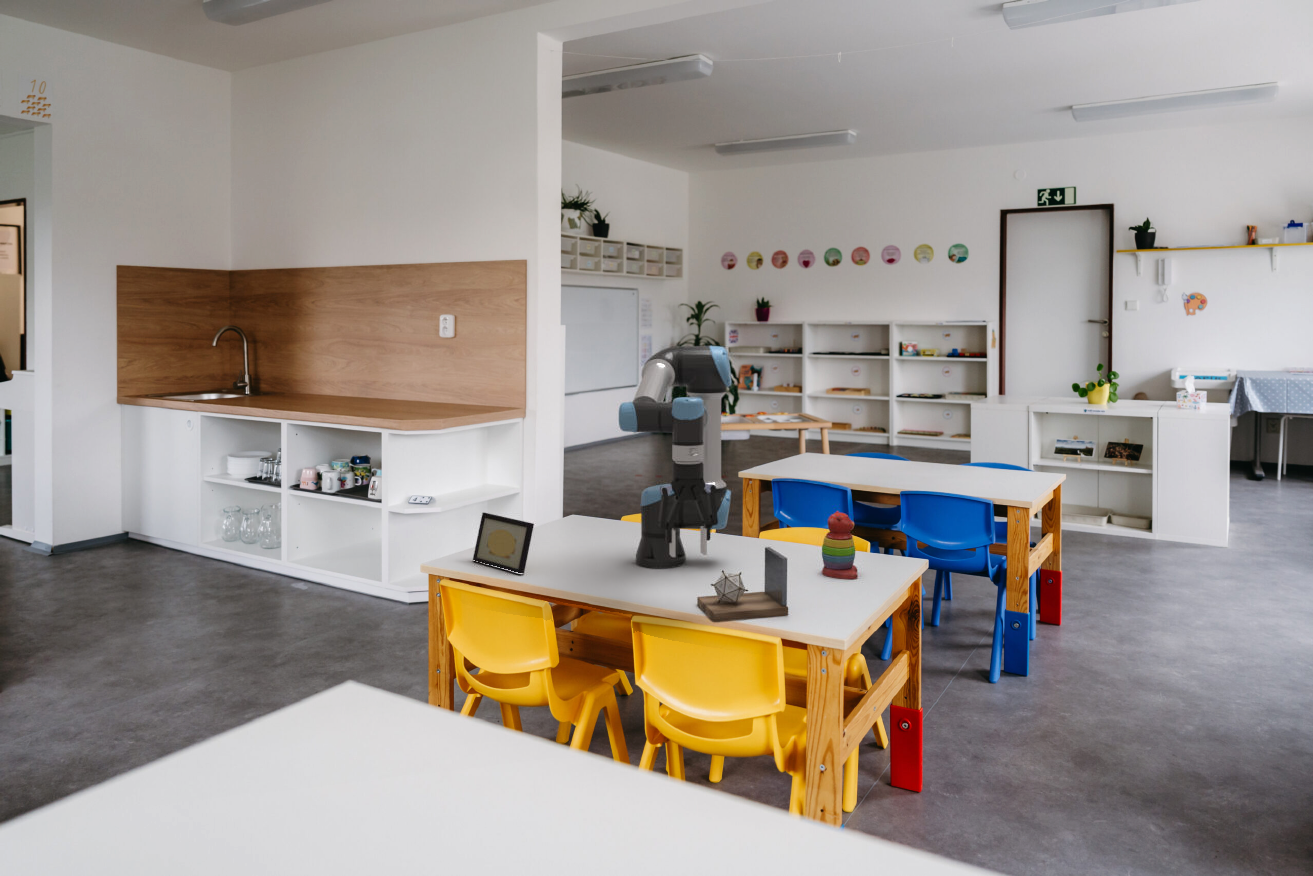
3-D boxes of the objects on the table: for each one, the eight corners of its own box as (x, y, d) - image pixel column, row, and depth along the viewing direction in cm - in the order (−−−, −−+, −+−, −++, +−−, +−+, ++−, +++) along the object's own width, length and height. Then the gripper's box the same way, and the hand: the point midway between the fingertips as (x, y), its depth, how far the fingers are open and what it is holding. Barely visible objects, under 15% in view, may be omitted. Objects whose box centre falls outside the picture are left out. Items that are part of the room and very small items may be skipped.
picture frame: (472, 562, 273) (475, 512, 272) (495, 559, 279) (499, 511, 279) (520, 576, 257) (523, 523, 256) (544, 573, 264) (547, 522, 263)
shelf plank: (697, 604, 230) (697, 597, 229) (767, 598, 234) (767, 591, 234) (714, 621, 216) (714, 613, 216) (788, 615, 221) (788, 607, 221)
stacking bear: (857, 580, 251) (859, 517, 249) (821, 578, 253) (822, 516, 251) (857, 569, 262) (858, 509, 260) (821, 568, 264) (822, 508, 262)
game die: (722, 616, 226) (707, 580, 230) (753, 603, 226) (738, 567, 230) (720, 608, 218) (705, 571, 222) (752, 595, 218) (736, 558, 222)
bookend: (764, 592, 233) (764, 547, 231) (768, 592, 233) (769, 546, 232) (782, 606, 221) (782, 558, 220) (786, 606, 222) (787, 558, 220)
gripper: (651, 465, 211) (651, 561, 214) (732, 462, 216) (732, 555, 219) (643, 461, 218) (644, 553, 221) (722, 457, 223) (722, 548, 226)
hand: (688, 554), depth 220 cm, fingers open, 7 cm apart
